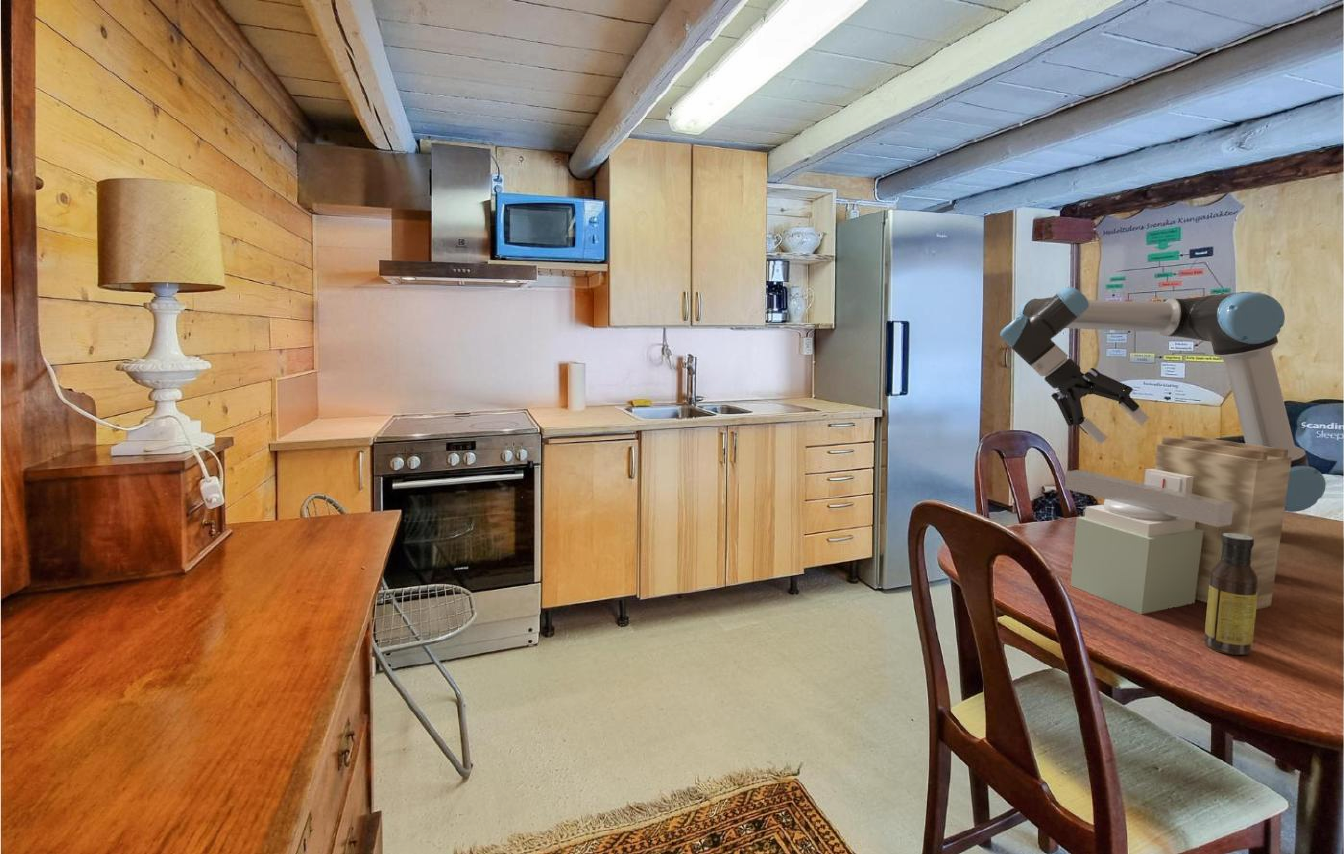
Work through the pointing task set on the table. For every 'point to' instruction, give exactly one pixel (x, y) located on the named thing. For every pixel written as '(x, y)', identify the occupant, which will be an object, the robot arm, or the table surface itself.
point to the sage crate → (1136, 566)
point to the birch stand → (1234, 499)
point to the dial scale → (1143, 518)
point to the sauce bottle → (1232, 598)
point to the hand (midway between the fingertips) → (1123, 431)
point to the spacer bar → (1152, 497)
